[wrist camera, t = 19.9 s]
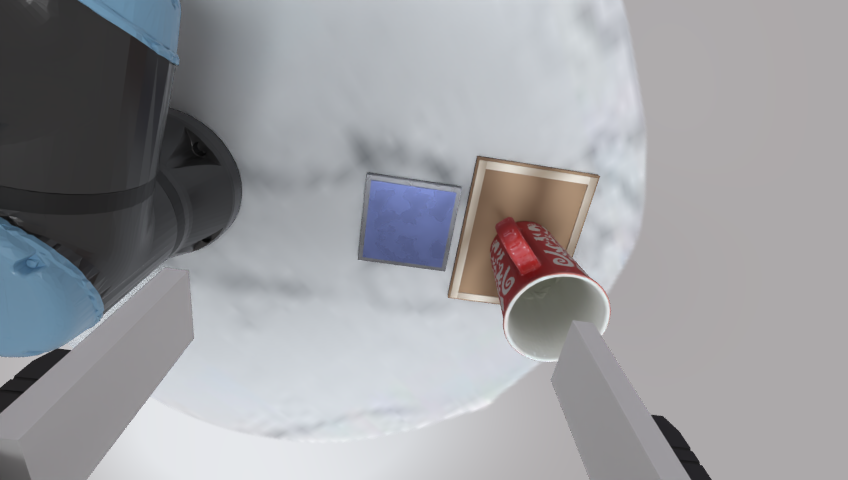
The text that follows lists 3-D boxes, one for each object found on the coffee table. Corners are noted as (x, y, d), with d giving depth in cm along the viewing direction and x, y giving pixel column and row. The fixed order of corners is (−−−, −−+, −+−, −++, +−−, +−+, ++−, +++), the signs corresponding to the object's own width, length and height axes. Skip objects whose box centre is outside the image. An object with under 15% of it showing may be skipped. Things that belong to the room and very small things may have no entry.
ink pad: (358, 256, 49) (357, 260, 48) (367, 172, 45) (366, 174, 44) (444, 268, 50) (445, 272, 49) (461, 186, 46) (462, 189, 45)
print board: (447, 295, 52) (448, 298, 51) (477, 156, 45) (478, 157, 44) (552, 308, 52) (554, 312, 52) (597, 174, 46) (600, 176, 45)
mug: (574, 264, 49) (625, 338, 37) (502, 297, 51) (527, 377, 39) (532, 169, 45) (574, 217, 32) (454, 209, 46) (465, 268, 34)
